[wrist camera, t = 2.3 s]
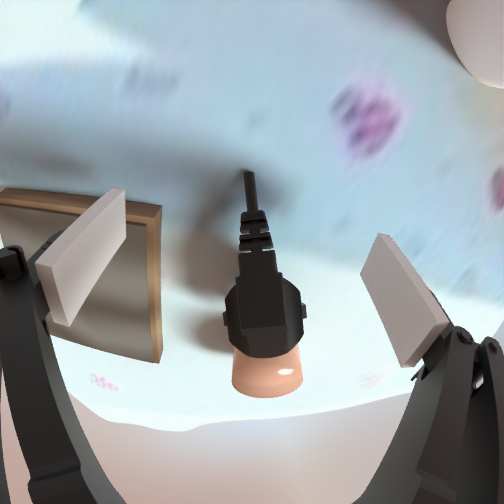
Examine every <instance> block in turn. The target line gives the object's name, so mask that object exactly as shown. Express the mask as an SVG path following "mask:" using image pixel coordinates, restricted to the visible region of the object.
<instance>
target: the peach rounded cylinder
mask: <svg viewBox="0 0 504 504" xmlns="http://www.w3.org/2000/svg"><path fill="white" fill-rule="evenodd" d="M302 381H303V376H302V369H301V361H300V354H299V347H298V343H297V345H296V346H295V347H294V348H293V349H292V350H291V351H290V352H288V353H286V354H284V355H281V356H278V357H274V358H253V357H248V356H246V355H245V354H243V353H242V352H241V351H239V350H238V349H237V348H236V347H235V346H234V350H233V369H232V385H233V387H234V388H235V389H236V390H237V391H239V392H240V393H242V394H244V395H247V396H251V397H256V398H273V397H279V396H283V395H286V394H289V393H291V392H293V391H294V390H296V389H297V388H298V387H299V386H300V385H301V383H302Z"/></svg>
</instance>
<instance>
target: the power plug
mask: <svg viewBox="0 0 504 504" xmlns="http://www.w3.org/2000/svg"><path fill="white" fill-rule="evenodd" d="M244 182H245V193H246V203H247V212H243V213H242V214H241V221H240V222H241V226H240V232H241V234H244V235H240V237H239V240H240V244H239V250H240V251H251V252H250V253H240V254H238V261H239V271H240V275H239V277H236V285H235V286H234V287H233V288H232V289H231V290H230V292H229V293H228V295H227V296H226V298H225V305H226V311H225V312H224V313H223V319H224V326H228V334H229V341H230V342H231V343H232V344H233V345H234V346H235V347H236V348H237V349H238V350H239V351H241V352H242V353H243V354H245V355H246V356H248V357H253V358H274V357H278V356H281V355H284V354H286V353H288V352H290V351H291V350H292V349H293V348H294V347H295V346H296V345H297V343H298V342H299V341H300V339H301V338H302V336H303V334H304V330H303V319H305V318H307V314H306V305H305V304H304V303H301V296H300V291H299V290H298V289H297V288H296V287H295V286H294V285H293V284H292V283H291V282H289V281H288V280H286V279H284V278H283V276H282V273H281V272H278V270H277V263H276V254H275V250H269V251H262V249H271V248H273V242H272V239H271V235H270V232H266V231H269V227H268V224H267V220H266V216H265V212H264V211H262V210H258V205H257V196H256V186H255V177H254V172H251V171H248V172H245V173H244ZM260 232H263V233H260ZM248 233H250V234H248Z"/></svg>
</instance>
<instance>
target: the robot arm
mask: <svg viewBox="0 0 504 504" xmlns="http://www.w3.org/2000/svg"><path fill="white" fill-rule="evenodd" d="M125 238H126V218H125V189H118V188H111V189H110V190H109V191H108V192H106V193H105V194H104V195H103V196H102V197H101V198H100V199H98V200H97V201H96V202H95V203H94V204H93V205H92V206H91V207H89V208H88V209H87V210H86V211H85V212H84V213H83V214H82V215H81V216H80V217H79V218H78V219H77V220H75V221H74V222H73V223H72V224H71V225H70V226H69V227H68V228H67V229H66V230H61V231H59V232H57V233H55V234H53V235H52V236H51V237H50V238H49V239H48V240H47V241H46V243H44V244H43V245H42V246H41V247H40V249H38V250H37V251H36V252H35V253H34V254H33V255H32V257H31V258H30V259H29V260H28V261H27V262H26V259H25V255H24V251H23V249H22V247H20V246H18V245H11V246H7V247H4V248H2V249H0V398H1V377H2V368H3V374H4V381H5V387H6V392H7V397H8V402H9V406H10V410H11V415H12V419H13V423H14V427H15V430H16V433H17V437H18V440H19V444H20V446H21V450H22V453H23V456H24V458H25V461H26V464H27V467H28V469H29V472H30V477H31V479H30V481H29V483H28V491H29V494H30V497H31V500H32V502H33V504H126V503H125V501H124V499H123V498H122V497H121V496H120V495H119V493H118V492H117V491H116V489H115V488H114V487H113V486H112V484H111V483H110V481H109V480H108V478H107V476H106V474H105V473H104V471H103V469H102V468H101V466H100V464H99V462H98V460H97V458H96V456H95V454H94V452H93V450H92V449H91V446H90V444H89V442H88V440H87V438H86V436H85V434H84V432H83V429H82V427H81V425H80V423H79V420H78V418H77V416H76V413H75V411H74V408H73V406H72V403H71V401H70V398H69V395H68V392H67V390H66V387H65V384H64V381H63V378H62V375H61V372H60V369H59V366H58V362H57V359H56V355H55V352H54V348H53V344H52V341H51V337H50V332H49V328H48V324H47V322H46V319H45V318H46V316H47V315H48V313H49V312H50V313H51V316H52V319H53V321H54V322H55V323H58V324H61V325H64V326H67V327H70V325H71V324H72V322H73V320H74V318H75V316H76V315H77V313H78V311H79V310H80V308H81V306H82V304H83V303H84V301H85V299H86V298H87V296H88V295H89V293H90V291H91V290H92V288H93V286H94V285H95V283H96V282H97V280H98V279H99V277H100V275H101V274H102V272H103V271H104V269H105V268H106V266H107V265H108V263H109V262H110V260H111V259H112V257H113V256H114V254H115V253H116V251H117V250H118V248H119V247H120V246H121V244H122V243H123V241H124V240H125ZM360 275H361V278H362V280H363V282H364V284H365V286H366V288H367V290H368V292H369V294H370V296H371V298H372V301H373V303H374V305H375V307H376V309H377V312H378V314H379V316H380V318H381V320H382V323H383V325H384V327H385V330H386V332H387V334H388V337H389V339H390V341H391V344H392V346H393V349H394V351H395V354H396V356H397V358H398V361H399V364H400V366H401V368H405V367H414V366H415V365H416V364H417V363H418V362H419V361H420V359H421V358H422V359H423V361H424V363H425V364H424V365H423V366H422V367H421V368H420V369H419V370H418V372H417V373H416V374H415V375H414V376H413V377H412V379H411V381H413V380H414V379H415V378H417V380H416V382H415V386H414V388H413V391H412V394H411V397H410V399H409V402H408V405H407V407H406V410H405V412H404V415H403V417H402V419H401V422H400V424H399V426H398V429H397V431H396V433H395V435H394V437H393V440H392V442H391V444H390V446H389V448H388V450H387V452H386V454H385V456H384V458H383V460H382V462H381V463H380V466H379V467H378V469H377V471H376V473H375V474H374V476H373V478H372V480H371V482H370V483H369V485H368V486H367V488H366V490H365V491H364V493H363V494H362V495H361V497H360V498H358V499H357V500H356V501H355V502H353V503H352V504H504V355H503V351H502V349H501V346H500V345H499V343H498V342H497V341H496V340H495V339H493V338H492V337H485V339H484V340H483V341H482V343H481V344H478V343H475V342H474V340H473V338H472V336H471V334H470V333H469V332H468V331H467V330H465V329H464V328H462V327H460V326H455V327H454V325H453V323H452V322H451V320H450V319H449V317H448V315H447V314H446V312H445V311H444V309H443V308H442V306H441V304H440V303H439V302H438V300H437V298H436V297H435V295H434V294H433V292H431V291H430V290H429V289H428V287H427V286H426V284H425V283H424V281H423V280H422V279H421V277H420V276H419V274H418V273H417V271H416V270H415V269H414V267H413V266H412V264H411V263H410V262H409V260H408V259H407V258H406V256H405V255H404V254H403V252H402V251H401V250H400V248H399V247H398V246H397V244H396V243H395V242H394V241H393V239H392V238H391V237H390V235H386V234H381V233H378V234H377V237H376V239H375V241H374V244H373V246H372V248H371V251H370V253H369V255H368V258H367V260H366V262H365V264H364V266H363V269H362V271H361V273H360ZM482 377H483V379H484V381H483V384H482V385H481V386H480V387H478V388H476V384H477V382H479V380H481V379H482ZM0 401H1V400H0ZM0 504H11V502H10V496H9V491H8V486H7V480H6V474H5V468H4V461H3V451H2V439H1V417H0Z"/></svg>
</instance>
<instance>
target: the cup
mask: <svg viewBox="0 0 504 504" xmlns="http://www.w3.org/2000/svg"><path fill="white" fill-rule="evenodd" d="M446 24H447V30H448V34H449V37H450V40H451V43H452V45H453V48H454V50H455V52H456V54H457V56H458V58H459V59H460V61H461V62H462V64H463V65H464V67H465V68H466V69H467V70H468V72H469V73H470V74H471V75H472V76H473V77H474V78H475V79H477V80H478V81H480V82H481V83H483V84H485V85H488V86H493V87H498V88H503V89H504V0H451V1H450V2H449V4H448V6H447V12H446Z"/></svg>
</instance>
